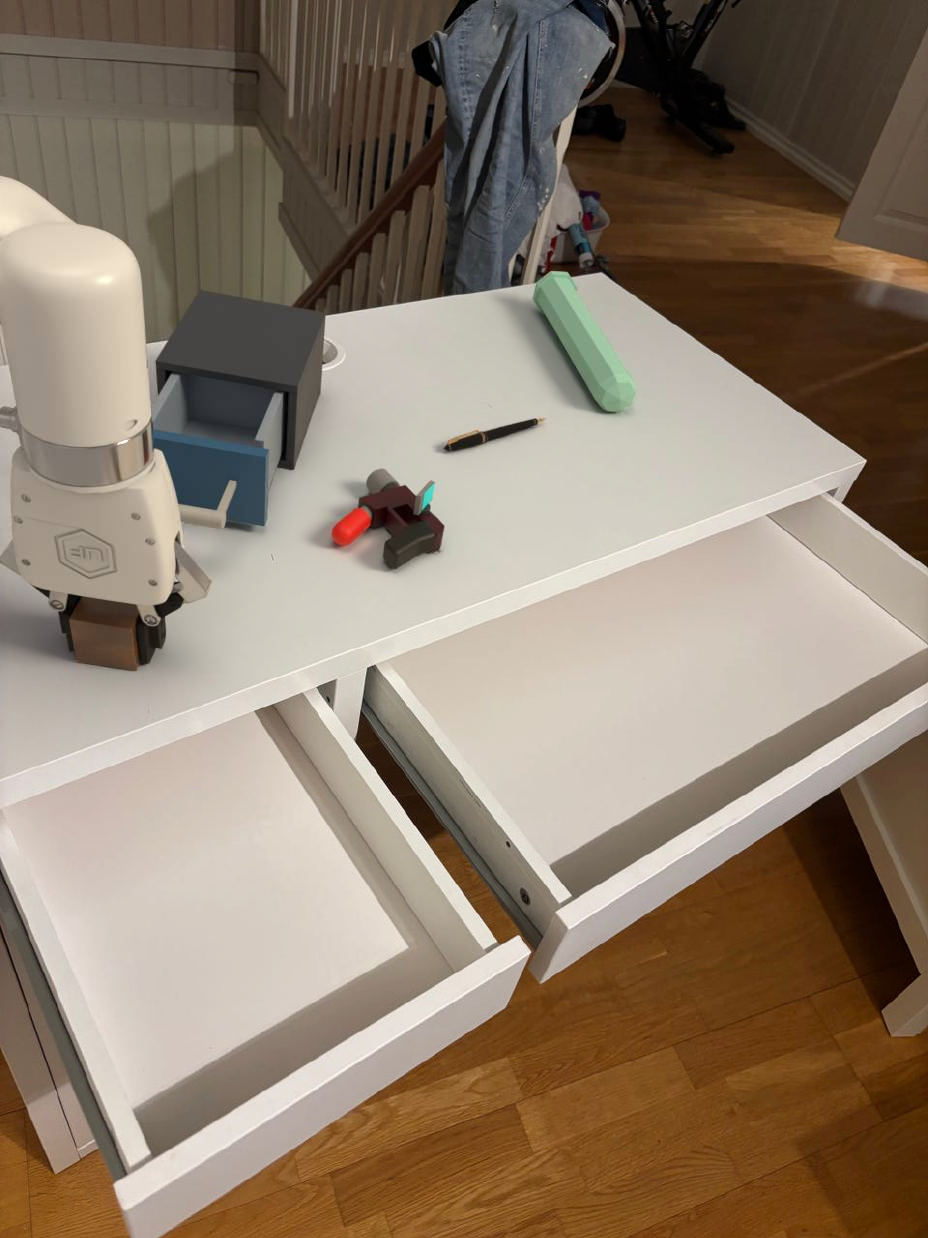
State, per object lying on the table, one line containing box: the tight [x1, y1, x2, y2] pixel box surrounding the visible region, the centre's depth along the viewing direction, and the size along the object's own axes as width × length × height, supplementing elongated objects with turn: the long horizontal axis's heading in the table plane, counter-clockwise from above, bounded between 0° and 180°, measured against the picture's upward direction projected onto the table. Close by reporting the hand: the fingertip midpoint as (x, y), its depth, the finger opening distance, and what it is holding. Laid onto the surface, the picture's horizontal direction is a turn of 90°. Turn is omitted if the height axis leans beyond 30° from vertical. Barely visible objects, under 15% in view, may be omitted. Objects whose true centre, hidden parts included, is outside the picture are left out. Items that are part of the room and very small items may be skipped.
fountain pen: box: [443, 417, 547, 452], centre depth 99 cm, size 14×1×2 cm, turn 128°
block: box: [69, 596, 141, 672], centre depth 69 cm, size 4×4×4 cm
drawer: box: [151, 371, 289, 530], centre depth 82 cm, size 19×11×7 cm, turn 176°
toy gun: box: [330, 468, 445, 570], centre depth 84 cm, size 10×12×5 cm
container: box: [532, 270, 638, 412], centre depth 113 cm, size 6×6×25 cm
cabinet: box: [154, 289, 327, 470], centre depth 92 cm, size 15×13×9 cm
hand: (115, 642), depth 70 cm, fingers closed on block, 4 cm apart
